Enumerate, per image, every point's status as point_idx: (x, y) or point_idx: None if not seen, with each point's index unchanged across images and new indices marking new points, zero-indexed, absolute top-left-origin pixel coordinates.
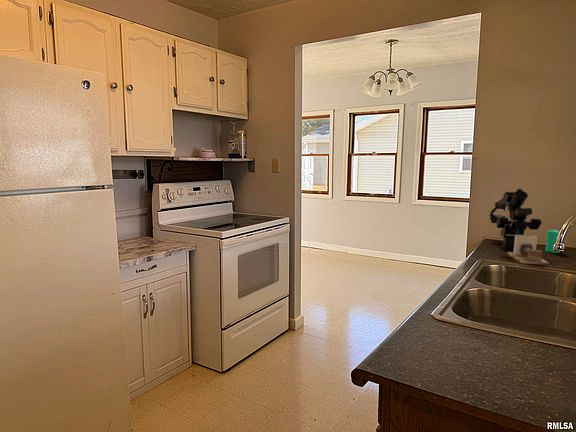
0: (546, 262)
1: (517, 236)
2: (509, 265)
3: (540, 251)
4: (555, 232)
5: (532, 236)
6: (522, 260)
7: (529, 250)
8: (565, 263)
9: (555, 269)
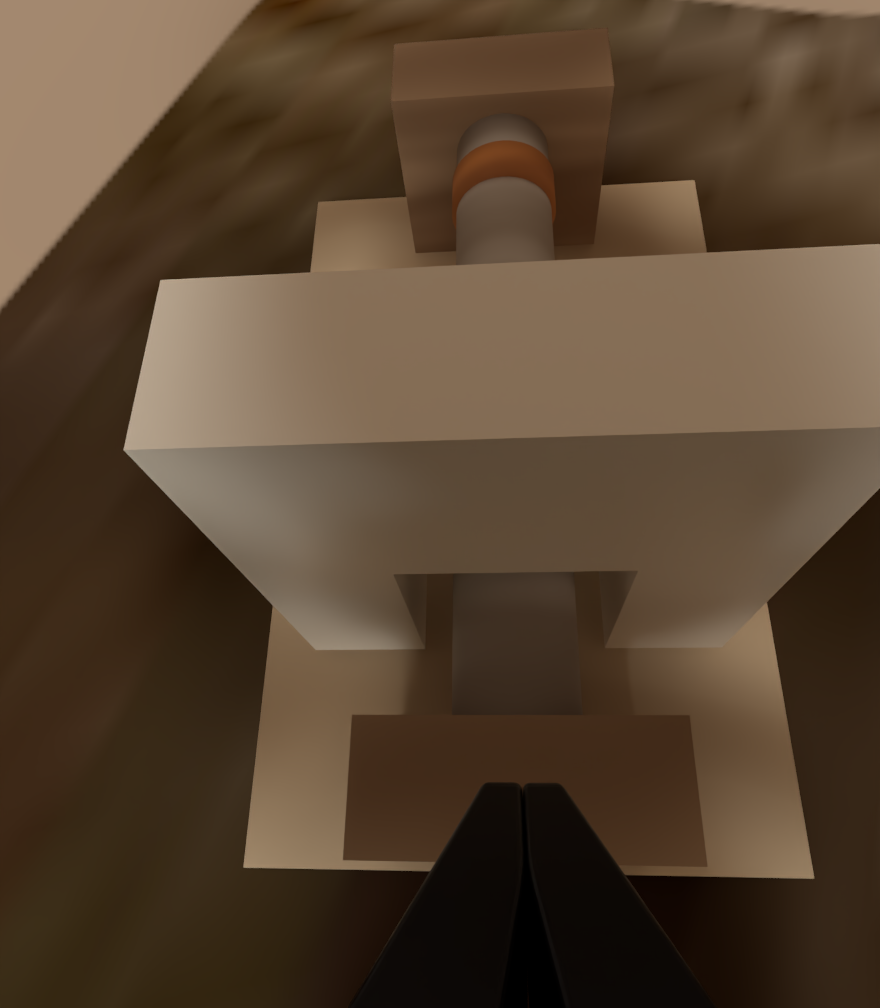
0: (351, 201)
1: (856, 264)
2: (876, 67)
3: (427, 44)
4: None
5: (324, 277)
6: (672, 206)
7: (608, 41)
8: (27, 363)
9: (359, 62)
